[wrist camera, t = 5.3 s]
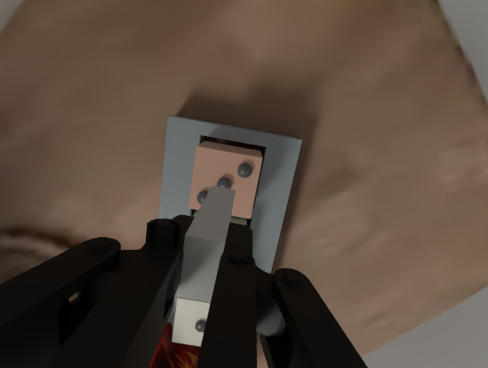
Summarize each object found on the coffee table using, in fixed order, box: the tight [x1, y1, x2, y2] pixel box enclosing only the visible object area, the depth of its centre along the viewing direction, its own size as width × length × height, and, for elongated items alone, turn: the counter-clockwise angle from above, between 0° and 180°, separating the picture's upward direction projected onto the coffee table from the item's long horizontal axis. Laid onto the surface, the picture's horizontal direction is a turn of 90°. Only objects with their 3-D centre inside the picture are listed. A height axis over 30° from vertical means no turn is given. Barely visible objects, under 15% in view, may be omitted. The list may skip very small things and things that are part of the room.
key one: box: [172, 296, 210, 346], centre depth 27 cm, size 6×6×4 cm
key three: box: [189, 141, 262, 219], centre depth 23 cm, size 6×6×4 cm
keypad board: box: [159, 115, 302, 333], centre depth 28 cm, size 13×24×2 cm, turn 170°
